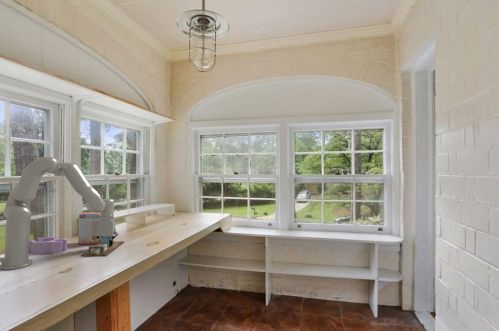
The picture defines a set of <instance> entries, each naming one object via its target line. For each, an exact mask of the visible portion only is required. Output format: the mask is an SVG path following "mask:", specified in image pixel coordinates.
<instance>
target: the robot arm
mask: <svg viewBox="0 0 499 331" xmlns="http://www.w3.org/2000/svg"><path fill="white" fill-rule="evenodd" d="M46 173H49V174H52V175H55V176H56V175H57V176H62V177H65V179H66V180H67V182H68V183H69V184H70V186H71V188H73V190H74V191H75V192H76V193H77V194H78V195H80V196H81V197H82V198H83V199H84V200H85V202H86V204H85V208H86V209H87V210H88V211H89V212H95V213H101V216H98V218H100V220H99V222H98V227H97V232H96V233H95V234H94V236H96V237H97V238H98V239H99V244H100V239H101V238H102V237H103V236H109V237H110V241H109V247H111V246H112V245H113V241H114V239H115V238H117V237H118V236H119V233H118V232H117V229H116V220H115V218H114V214H115V200H114V199H112V198H102V197H101V196H100V194H99V193H98V191H97V190H96V189H95V188H94V187H93V186H92V184H90V182H89V181H88V179H87V178H86V176H85V174H84V173H83V172H82V170H81V169H80V167H79V165H77V164H76V163H74V162H66V161H62V160H61V161H60V160H57V159H56V158H55V157H53V156H42V157H40V158H37V159H35V160H32V161H31V162H30V163H28V164H27V165H26V166H25V168H24V169H23V171H22V173H21V176H20V178H19V179H18V183H17V185H14V187H13V188H12V189H10V190H11V191H10V192H9V195H8V198H7V200H6V204H5V207H4V211H3V215H4V217H5V218H6V221H5V222H6V223H5V230H4V231H5V233H4V234H5V235H4V237H5V239H4V257H3V256H1V257H0V263H1V264H0V270H3V271H11V270H17V269H23V268H26V267H28V266H30V265H32V264H33V260H32V259H29V257H30V256H29V254H30V252H29V241H30V231H31V222H32V221H31V220H32V212H31V209H30V208H29V206H30V202H31V201H33V200H34V199H35V198H36V196H37V192H38V189H39V185H40V183H41V180H42V178H43V177H44V175H45V174H46Z"/></svg>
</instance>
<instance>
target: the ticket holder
mask: <svg viewBox="0 0 499 331" xmlns="http://www.w3.org/2000/svg"><path fill="white" fill-rule="evenodd" d="M123 244H125V241H122V240H118V241H117V240H116V241H115V240H113V245H112V246H111V247H107V244H95V245H89V246H88V250H87V251H85V252H83V253H82V254H81V257H108V256H109V255H110V254H112V253H113V252H114V251H115V250H116V249H118V248H119V247H121V246H122V245H123Z"/></svg>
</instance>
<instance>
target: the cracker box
mask: <svg viewBox="0 0 499 331" xmlns="http://www.w3.org/2000/svg"><path fill="white" fill-rule="evenodd" d="M78 216H79V217H78V218H79V219H78V239H77V242H78V245H98V244H99V239H98V238H97V237H96V236H94V234H95V233H96V232H97V227H98V222H99V220H100V218H98V216H101V212H99V213H96V212H93V211H88V212H84V211H83V212H80V213H79V215H78Z"/></svg>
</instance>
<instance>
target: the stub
mask: <svg viewBox="0 0 499 331" xmlns="http://www.w3.org/2000/svg"><path fill="white" fill-rule="evenodd" d="M109 241H110V237H109V236H103V237H102V238H101V239H100V244H107V247H109Z"/></svg>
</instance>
